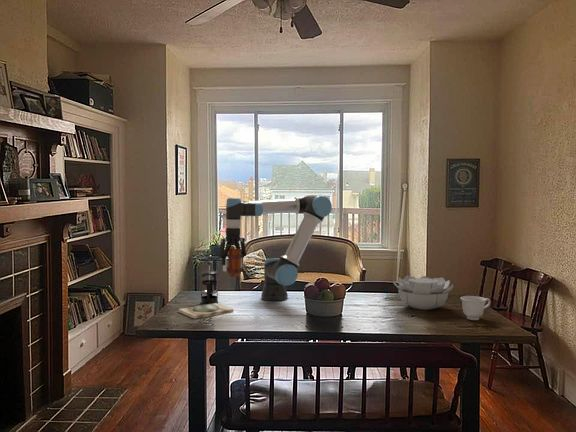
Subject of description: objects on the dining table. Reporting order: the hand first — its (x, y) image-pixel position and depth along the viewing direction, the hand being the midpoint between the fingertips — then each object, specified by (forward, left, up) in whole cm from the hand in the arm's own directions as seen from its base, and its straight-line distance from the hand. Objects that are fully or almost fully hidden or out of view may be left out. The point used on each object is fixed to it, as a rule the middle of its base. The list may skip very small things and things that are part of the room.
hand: (232, 270), depth 263 cm
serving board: (+16, -1, -20) cm, 25 cm away
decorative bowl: (-79, +61, -20) cm, 102 cm away
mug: (-1, 0, -3) cm, 3 cm away
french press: (+4, -18, -20) cm, 27 cm away
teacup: (-81, +91, -20) cm, 124 cm away
